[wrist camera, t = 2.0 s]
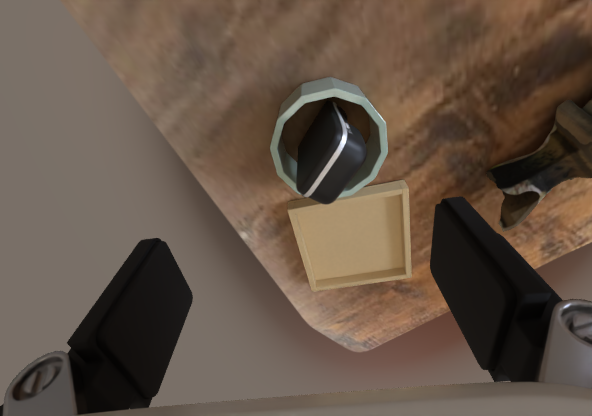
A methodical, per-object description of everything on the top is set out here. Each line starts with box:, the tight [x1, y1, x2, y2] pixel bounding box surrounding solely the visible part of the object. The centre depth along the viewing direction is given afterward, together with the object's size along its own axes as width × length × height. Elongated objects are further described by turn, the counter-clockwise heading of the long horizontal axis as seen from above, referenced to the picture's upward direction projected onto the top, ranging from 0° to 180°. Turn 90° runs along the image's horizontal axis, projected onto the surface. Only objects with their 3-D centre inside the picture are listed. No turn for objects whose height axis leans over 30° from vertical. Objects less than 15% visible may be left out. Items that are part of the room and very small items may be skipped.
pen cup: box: [270, 77, 388, 198], centre depth 32 cm, size 11×11×6 cm
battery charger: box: [296, 100, 367, 205], centre depth 29 cm, size 7×4×11 cm, turn 151°
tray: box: [287, 180, 412, 292], centre depth 42 cm, size 15×16×2 cm
